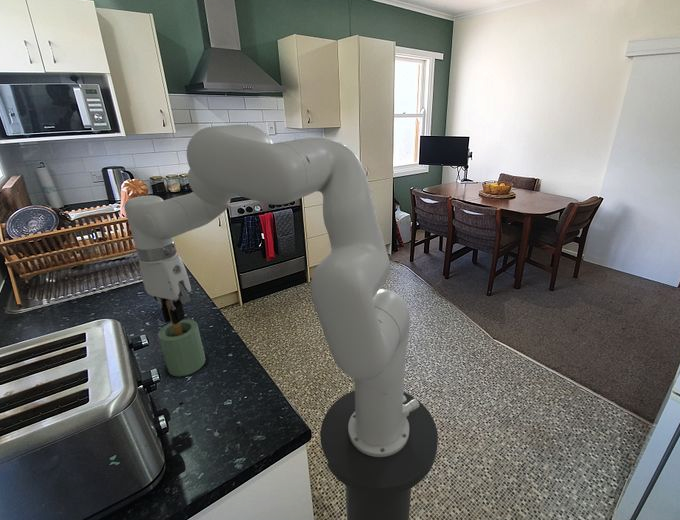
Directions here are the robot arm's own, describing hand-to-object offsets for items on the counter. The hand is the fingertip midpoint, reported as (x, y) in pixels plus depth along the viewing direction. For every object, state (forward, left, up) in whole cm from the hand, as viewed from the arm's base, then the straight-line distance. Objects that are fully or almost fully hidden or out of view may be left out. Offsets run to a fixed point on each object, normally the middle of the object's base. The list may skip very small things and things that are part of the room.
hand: (175, 319), depth 85 cm
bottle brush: (0, 0, -11) cm, 11 cm away
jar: (0, 0, -14) cm, 14 cm away
